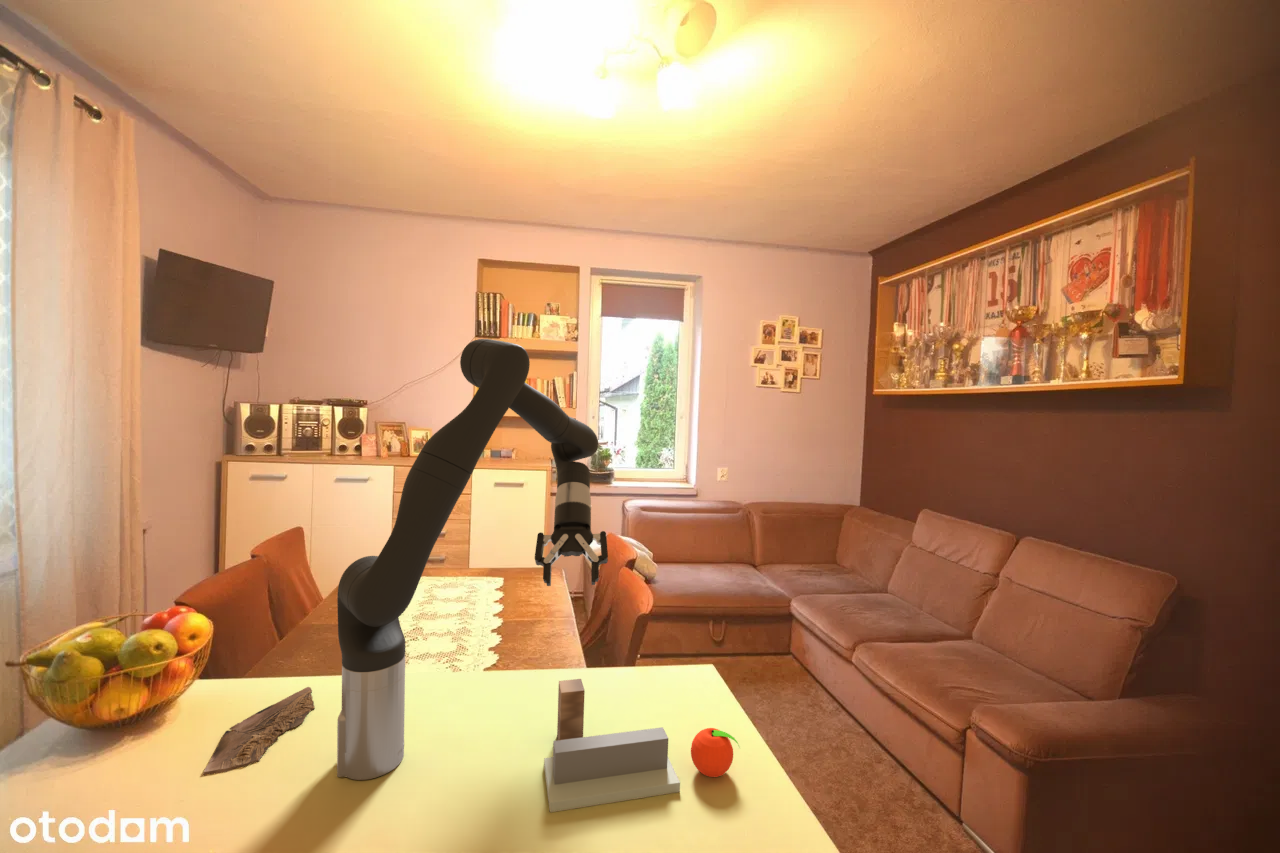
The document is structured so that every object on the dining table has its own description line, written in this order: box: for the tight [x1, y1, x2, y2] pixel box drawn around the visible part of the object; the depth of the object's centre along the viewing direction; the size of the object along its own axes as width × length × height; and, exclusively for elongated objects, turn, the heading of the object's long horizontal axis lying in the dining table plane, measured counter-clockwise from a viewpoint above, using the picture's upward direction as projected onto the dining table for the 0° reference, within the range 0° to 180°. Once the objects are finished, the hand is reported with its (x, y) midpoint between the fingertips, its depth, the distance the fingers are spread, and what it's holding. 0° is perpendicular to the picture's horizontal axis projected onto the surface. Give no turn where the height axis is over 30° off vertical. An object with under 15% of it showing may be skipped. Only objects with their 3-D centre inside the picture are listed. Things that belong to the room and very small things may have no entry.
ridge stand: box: [543, 727, 681, 813], centre depth 87 cm, size 20×10×6 cm, turn 105°
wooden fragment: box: [202, 686, 316, 777], centre depth 97 cm, size 26×11×1 cm, turn 176°
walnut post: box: [556, 678, 586, 740], centre depth 96 cm, size 4×4×10 cm
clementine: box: [690, 727, 741, 778], centre depth 89 cm, size 8×7×7 cm
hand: (571, 584), depth 105 cm, fingers open, 8 cm apart
